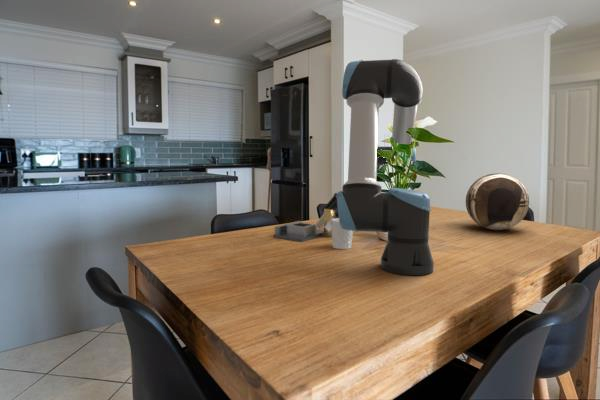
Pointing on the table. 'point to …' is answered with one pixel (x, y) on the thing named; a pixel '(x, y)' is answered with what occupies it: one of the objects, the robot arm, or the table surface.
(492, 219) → the sphere
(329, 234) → the bushing
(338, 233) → the white cup
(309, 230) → the jig
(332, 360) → the table surface
